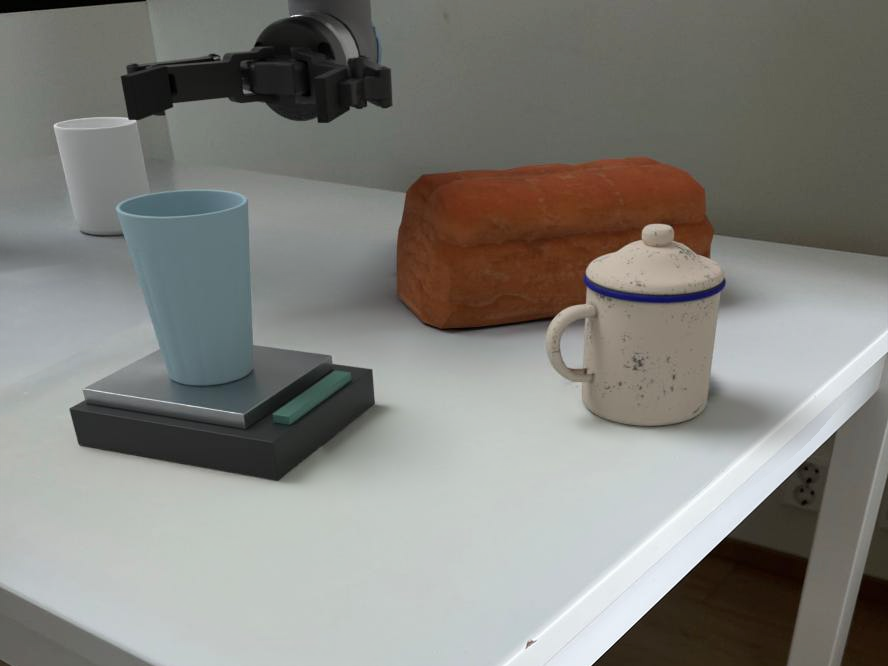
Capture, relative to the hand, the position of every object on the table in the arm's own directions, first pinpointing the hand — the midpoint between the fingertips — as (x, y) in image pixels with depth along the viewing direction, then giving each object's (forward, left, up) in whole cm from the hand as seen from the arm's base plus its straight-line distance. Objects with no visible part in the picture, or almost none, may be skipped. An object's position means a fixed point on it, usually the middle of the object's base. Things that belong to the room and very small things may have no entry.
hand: (224, 99), depth 68 cm
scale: (+6, -13, -18) cm, 22 cm away
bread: (+17, +22, -18) cm, 33 cm away
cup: (+5, -13, -14) cm, 20 cm away
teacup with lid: (+30, -1, -18) cm, 35 cm away
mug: (-39, +32, -18) cm, 54 cm away
